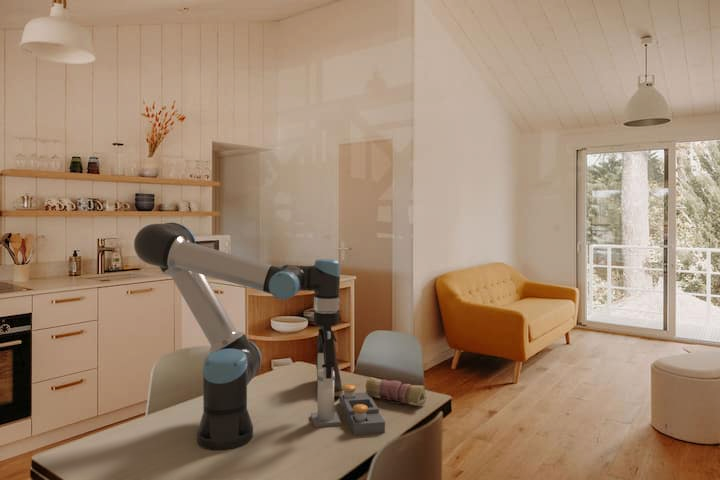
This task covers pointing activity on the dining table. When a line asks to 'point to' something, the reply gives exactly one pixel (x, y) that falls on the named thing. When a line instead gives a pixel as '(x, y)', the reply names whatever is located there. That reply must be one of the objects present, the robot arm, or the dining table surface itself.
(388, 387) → the green and pink roll
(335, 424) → the mat
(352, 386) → the plunger far
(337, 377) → the boot
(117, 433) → the dining table surface
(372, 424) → the housing
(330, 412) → the cylinder
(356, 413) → the plunger near
